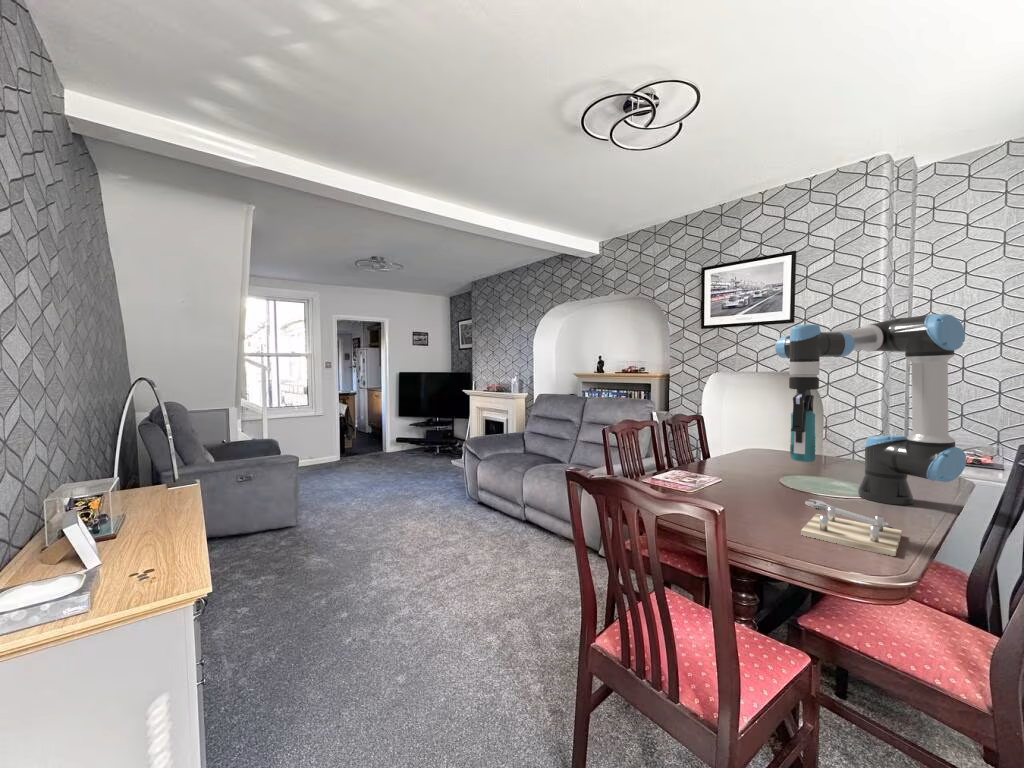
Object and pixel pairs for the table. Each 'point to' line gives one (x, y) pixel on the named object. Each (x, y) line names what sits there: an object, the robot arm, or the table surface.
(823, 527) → the steel pegs
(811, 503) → the adjustable wrench
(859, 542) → the birch board
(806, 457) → the beverage bottle
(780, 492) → the table surface
